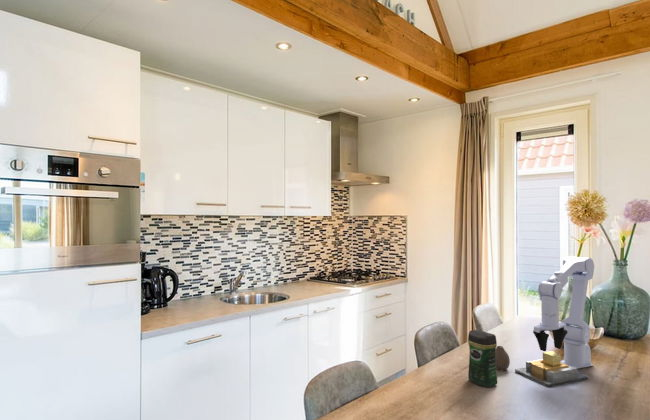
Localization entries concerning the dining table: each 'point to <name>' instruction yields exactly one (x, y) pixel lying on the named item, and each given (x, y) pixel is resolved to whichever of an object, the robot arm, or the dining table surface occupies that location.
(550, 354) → the rectangular block
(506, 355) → the vase
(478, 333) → the coffee jar
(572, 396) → the dining table surface
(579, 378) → the rosette base
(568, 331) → the robot arm
